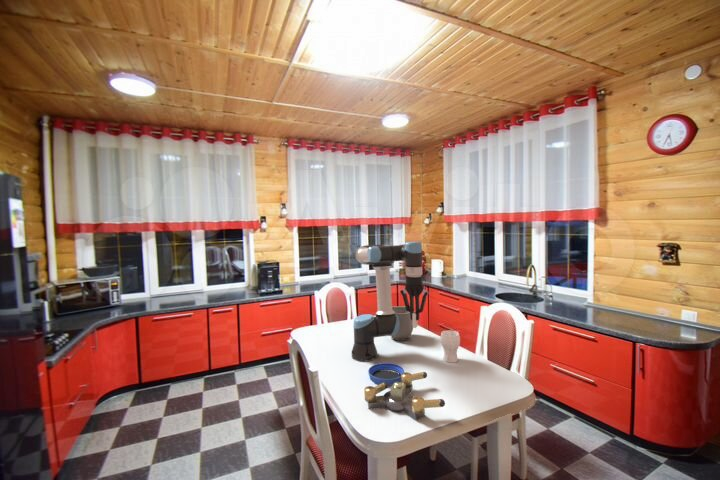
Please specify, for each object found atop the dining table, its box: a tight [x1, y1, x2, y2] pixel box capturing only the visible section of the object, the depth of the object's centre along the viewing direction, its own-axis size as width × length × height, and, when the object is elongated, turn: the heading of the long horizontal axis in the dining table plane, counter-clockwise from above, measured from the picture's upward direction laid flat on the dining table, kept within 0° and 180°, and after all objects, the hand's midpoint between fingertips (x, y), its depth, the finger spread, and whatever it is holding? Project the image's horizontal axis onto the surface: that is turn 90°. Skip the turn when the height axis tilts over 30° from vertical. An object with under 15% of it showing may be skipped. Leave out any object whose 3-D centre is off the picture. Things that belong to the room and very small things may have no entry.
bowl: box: [368, 362, 405, 386], centre depth 158 cm, size 18×18×4 cm
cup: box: [439, 330, 461, 364], centre depth 176 cm, size 11×11×15 cm
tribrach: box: [367, 382, 426, 421], centre depth 136 cm, size 25×22×9 cm
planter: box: [390, 305, 414, 341], centre depth 211 cm, size 20×20×19 cm
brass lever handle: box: [412, 395, 446, 414], centre depth 125 cm, size 13×5×4 cm, turn 93°
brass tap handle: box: [401, 371, 428, 387], centre depth 147 cm, size 13×5×4 cm, turn 109°
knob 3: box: [364, 382, 389, 403], centre depth 136 cm, size 13×5×4 cm, turn 133°
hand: (415, 326), depth 144 cm, fingers closed
